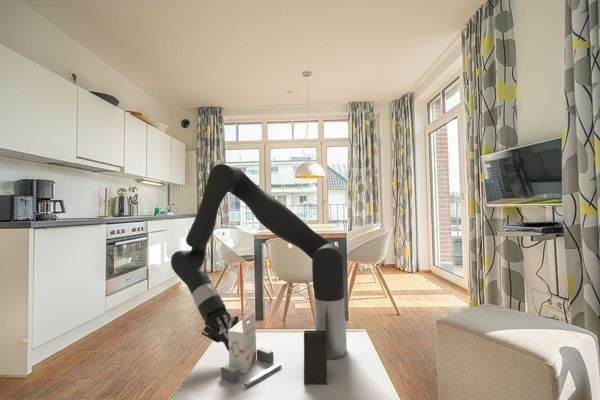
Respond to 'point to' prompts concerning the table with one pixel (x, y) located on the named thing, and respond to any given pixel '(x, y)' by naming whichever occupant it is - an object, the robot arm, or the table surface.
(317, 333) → the phone stand
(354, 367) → the table surface
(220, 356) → the table surface
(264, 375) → the rail
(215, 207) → the robot arm
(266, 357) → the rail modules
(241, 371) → the ink cartridge box
